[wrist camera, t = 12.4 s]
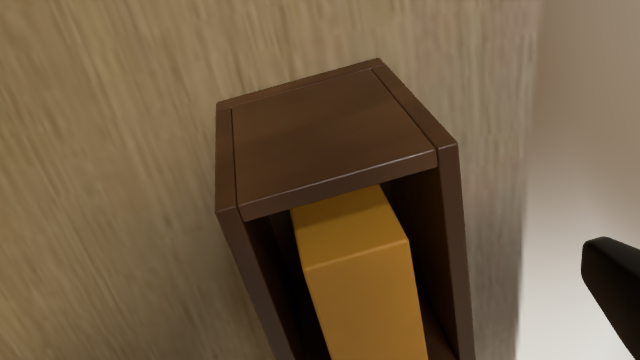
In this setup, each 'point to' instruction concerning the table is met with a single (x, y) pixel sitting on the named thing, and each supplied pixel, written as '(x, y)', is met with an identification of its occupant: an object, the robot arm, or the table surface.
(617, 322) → the robot arm
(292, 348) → the holder
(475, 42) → the table surface
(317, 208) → the block
